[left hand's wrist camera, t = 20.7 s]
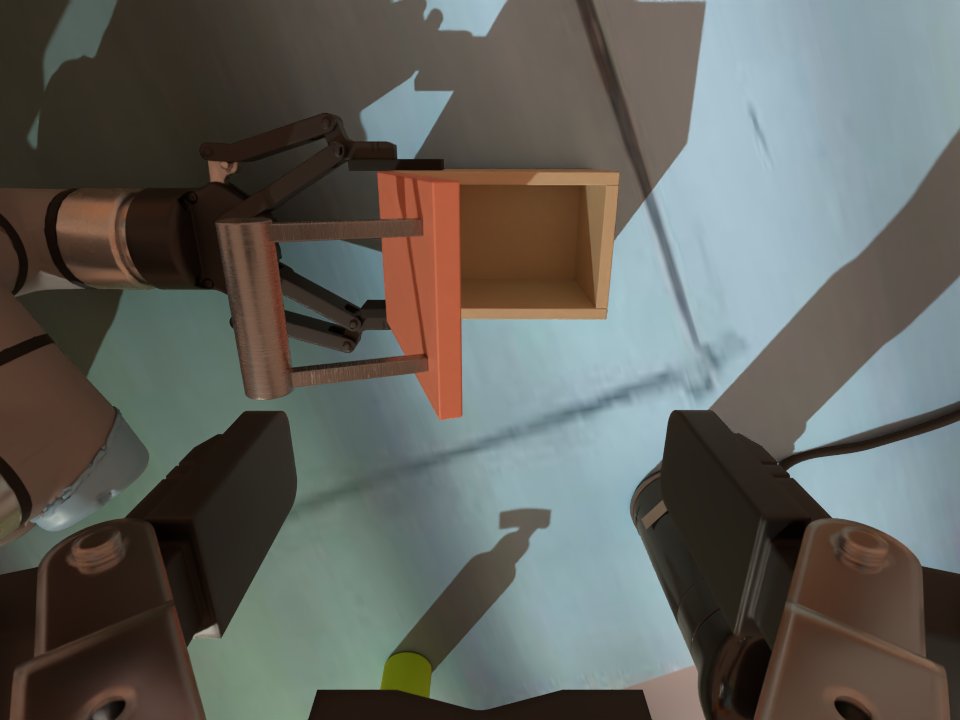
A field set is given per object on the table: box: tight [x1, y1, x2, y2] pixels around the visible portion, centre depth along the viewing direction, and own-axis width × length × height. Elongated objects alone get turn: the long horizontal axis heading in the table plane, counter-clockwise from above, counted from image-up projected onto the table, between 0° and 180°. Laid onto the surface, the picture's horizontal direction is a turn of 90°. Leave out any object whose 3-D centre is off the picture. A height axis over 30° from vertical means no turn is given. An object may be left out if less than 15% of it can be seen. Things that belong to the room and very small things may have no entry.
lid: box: [215, 171, 462, 420], centre depth 27 cm, size 16×10×9 cm
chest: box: [393, 168, 620, 319], centre depth 41 cm, size 15×10×10 cm, turn 90°
